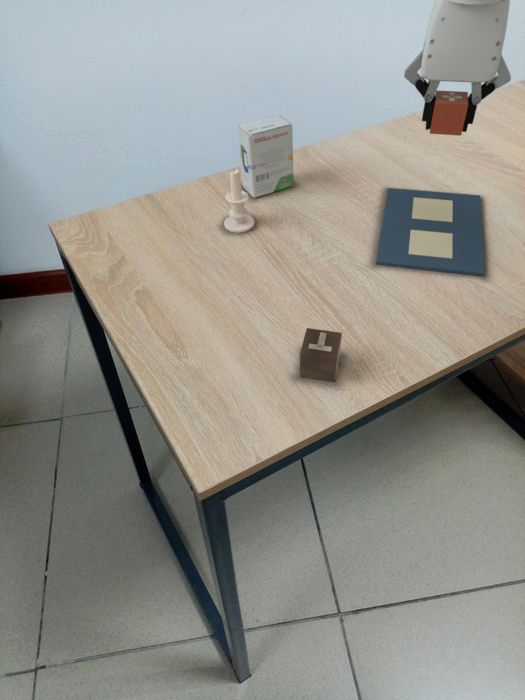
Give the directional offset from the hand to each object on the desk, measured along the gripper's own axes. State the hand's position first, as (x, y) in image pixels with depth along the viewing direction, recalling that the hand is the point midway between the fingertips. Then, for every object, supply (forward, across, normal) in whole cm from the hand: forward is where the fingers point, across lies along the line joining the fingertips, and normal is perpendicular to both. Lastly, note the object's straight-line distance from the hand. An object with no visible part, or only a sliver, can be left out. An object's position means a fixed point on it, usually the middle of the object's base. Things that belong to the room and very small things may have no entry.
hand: (445, 125), depth 79 cm
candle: (+16, +31, +8) cm, 36 cm away
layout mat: (+16, -1, +4) cm, 16 cm away
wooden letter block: (+15, +12, +38) cm, 42 cm away
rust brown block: (0, 0, 0) cm, 0 cm away
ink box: (+16, +29, -5) cm, 34 cm away
